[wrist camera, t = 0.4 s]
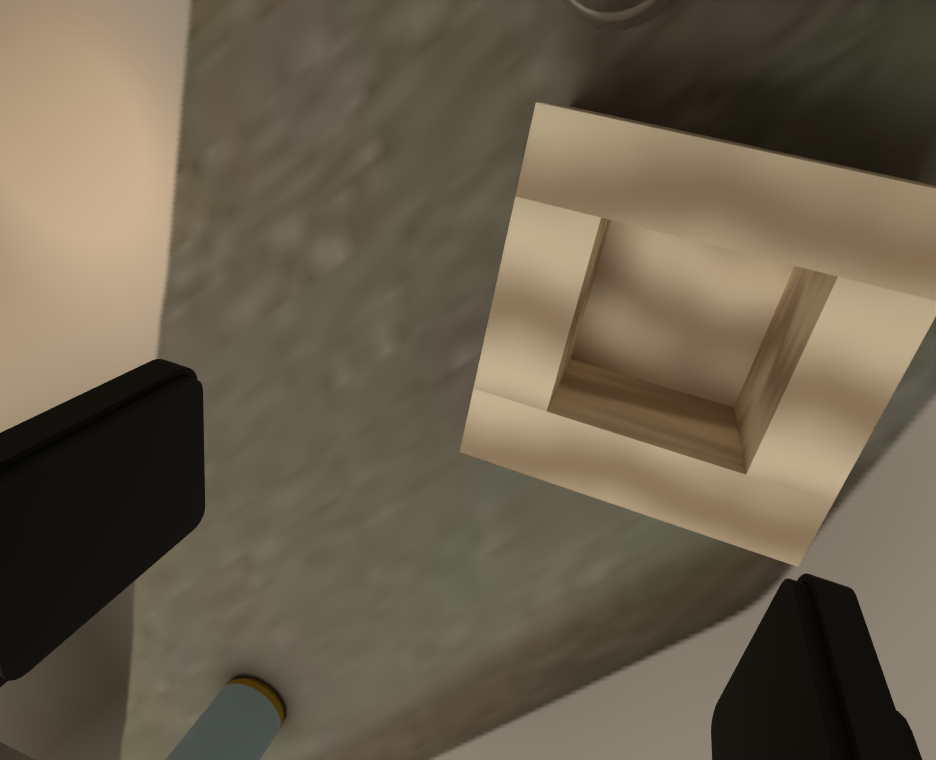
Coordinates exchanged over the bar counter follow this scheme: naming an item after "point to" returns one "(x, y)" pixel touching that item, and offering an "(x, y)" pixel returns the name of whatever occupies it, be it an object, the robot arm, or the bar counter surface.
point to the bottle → (234, 724)
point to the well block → (699, 324)
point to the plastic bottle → (615, 12)
